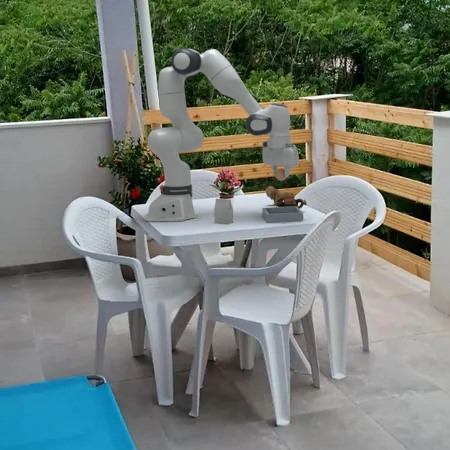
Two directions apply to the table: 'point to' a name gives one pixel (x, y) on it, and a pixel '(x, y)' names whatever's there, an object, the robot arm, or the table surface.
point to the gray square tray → (282, 214)
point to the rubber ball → (280, 174)
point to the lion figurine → (277, 194)
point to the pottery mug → (289, 202)
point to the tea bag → (223, 211)
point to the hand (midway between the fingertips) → (281, 176)
